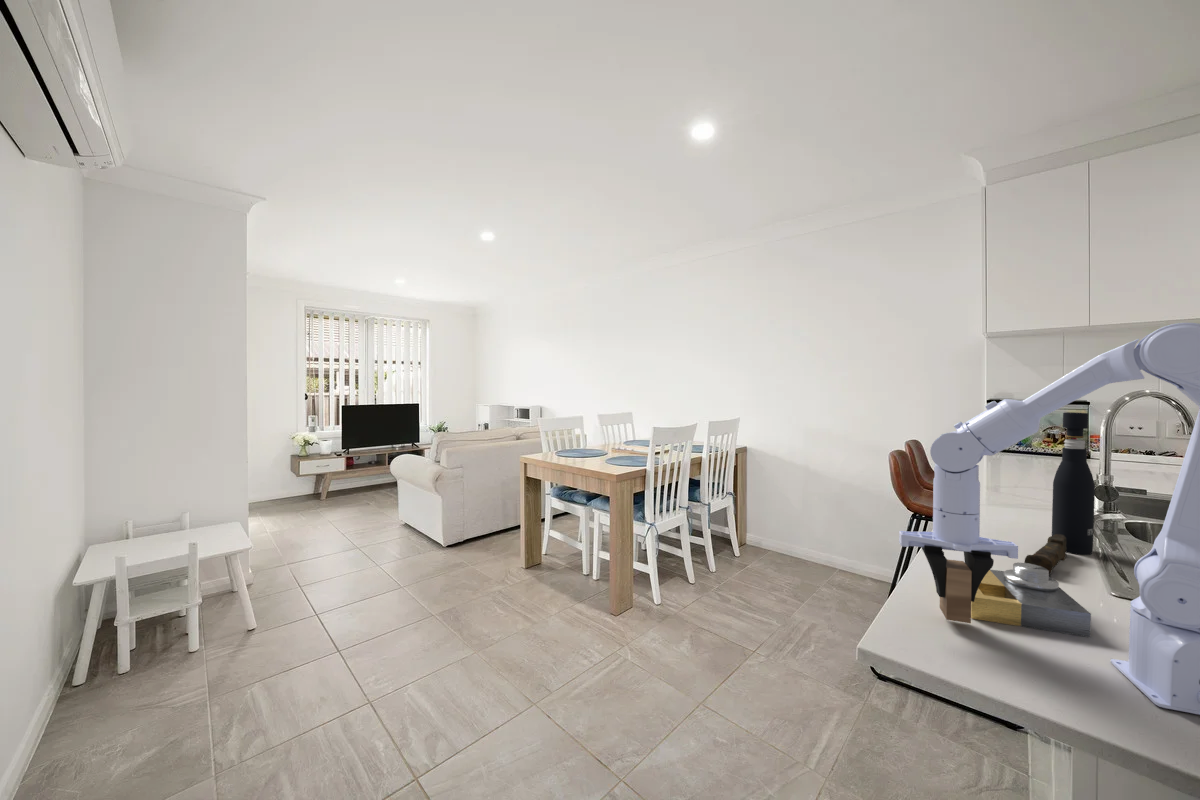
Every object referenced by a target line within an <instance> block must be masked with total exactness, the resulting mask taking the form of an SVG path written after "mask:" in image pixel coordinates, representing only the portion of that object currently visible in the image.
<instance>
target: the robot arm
mask: <svg viewBox="0 0 1200 800" xmlns="http://www.w3.org/2000/svg"><path fill="white" fill-rule="evenodd" d="M1138 341H1139V342H1138ZM1141 370H1142V371H1144V372H1145V373H1147V374H1149V375H1151V376H1153V377H1155V378H1157V379H1160V380H1161V381H1165V382H1167V383H1169V384H1171V385H1173V386H1175V387H1176V389H1177V390H1179V391H1180V392H1181V393H1182V394H1183V395H1185V397H1187V398H1188V399H1189V400H1190V401H1192V403H1194V404H1195V405H1196V406H1197V407H1198V408H1199V409H1198V412H1197V417H1196V419H1195V421H1194V425H1193V429H1192V431H1191V435H1190V438H1189V441H1188V443H1187V444H1188V445H1187V448H1186V451H1185V453H1184V454H1185V455H1184V457H1183V461H1182V463H1181V467H1180V470H1179V473H1178V477H1177V480H1176V483H1175V486H1174V489H1173V492H1172V496H1171V500H1170V502H1169V506H1168V508H1167V511H1166V516H1165V517H1164V521H1163V525H1162V528H1161V530H1160V532H1159V533H1158V535H1157V536H1156V537H1155V539H1154V542H1153V545H1152V547H1151V549H1150V551H1149V552H1148V553H1146V554H1145V555H1143V556H1141V557H1140V558H1139V559H1138V560H1137V561H1136V562H1135V564H1134V567H1133V573H1134V577H1135V580H1136V581H1137V583H1138V586H1139V588H1138V589H1139V596H1138V597H1136V598H1134V599H1133V600H1130V603H1129V604H1130V607H1129V611H1130V612H1129V636H1128V660H1121V659H1116V658H1111V659H1110V663H1111V665H1113V666H1114V667H1115V668H1116V669H1117V670H1119V672H1121V673H1122V674H1123V675H1124V676H1125V677H1126V678H1127V679H1128V680H1129V681H1130V682H1131V683H1132V684H1133V685H1134V686H1135V687H1136V688H1137V689H1138V690H1140V692H1142V693H1143V694H1144V695H1145V696H1146V697H1147V698H1148V699H1149V700H1150V701H1151V702H1152V703H1153V704H1154V705H1156V706H1157V707H1160V708H1163V709H1167V710H1168V709H1169V710H1172V711H1173V710H1174V711H1178V712H1185V713H1188V714H1189V713H1190V714H1194V715H1199V716H1200V323H1197V322H1177V323H1171V324H1169V325H1164V326H1162V327H1160V328H1158V329H1156V330H1153V332H1151V333H1149V334H1147V335H1145V336H1144V337H1143V338H1142V339H1140V338H1136V339H1135V340H1132V341H1129V342H1127V343H1125V344H1122V345H1120V346H1117V347H1116V348H1115V347H1114V348H1112V349H1110V350H1108V351H1106V352H1103V353H1101V354H1098V355H1097V356H1095V357H1092V358H1091V359H1090V360H1088V361H1086V362H1084V363H1083V364H1081V365H1080V366H1078V367H1077V368H1075V369H1073V370H1072V371H1070V372H1068V373H1067V374H1065V375H1063V376H1061V377H1060V378H1058V379H1057V380H1054V382H1052V383H1050V384H1048V385H1047V386H1045V387H1043V388H1042V389H1040V390H1038V391H1037V392H1035V393H1033V394H1032V395H1031V396H1028V397H1027V398H1025V399H1022V400H1019V399H1011V398H1004V399H1003V400H1001V401H999V402H996V401H995V400H993V401H991V402H988V403H987V404H986V405H984V408H985V410H984V411H982V412H981V413H978V414H977V415H975V416H974V417H972V418H970V419H969V420H966V421H965V422H962V421H959V422H957V423H955V424H954V425H953V427H954V429H956V430H954V431H949V432H945V433H942V434H940V435H939V437H937V438H936V439H935V440H934V441H933V443H931V446H930V458H931V460H932V461H933V463H934V468H933V471H934V476H933V477H934V478H933V480H932V481H933V483H932V486H933V489H932V491H933V493H932V495H933V496H932V497H933V498H932V499H933V500H932V531H905V530H904V531H903V530H899V531H898V533H899V534H898V544H899V545H900V546H901V547H903V548H905V547H906V548H909V547H918V548H921V550H922V552H923V553H924V556H925V558H926V560H927V563H928V564H929V567H930V569H931V570H930V571H931V573H932V575H933V576H932V577H933V579H934V584H935V589H936V593H937V595H938V597H939V598H940V597H944V598H945V591H946V590H945V569H946V562H947V557H946V556H945V552H944V551H943V550H945V551H953V552H963V558H964V559H963V561H964V562H965V564H966V565H967V566H968V567H969V568H970V570H971V571H972V578H971V601H972V602H974V600H975V596H976V593H977V590H978V587H979V585H980V583H981V581H982V580H983V578H984V576H985V575H986V574H987V572H988V571H989V570H992V568H993V566H994V561H995V560H994V559H993V557H992V555H993V556H1001V557H1007V558H1010V559H1016V560H1017V559H1018V560H1019V545H1017V544H1016V543H1015V542H1014V541H1009V540H1008V541H1007V540H1002V539H1001V540H999V539H994V538H989V537H983V536H981V535H980V532H981V531H980V530H981V529H980V528H981V526H980V525H981V523H980V522H981V521H980V520H981V519H980V518H981V515H980V514H981V510H980V509H981V482H980V480H979V475H980V473H979V469H980V468H979V467H980V466H979V465H978V463H980V462H981V461H982V460H983V458H984V457H985V456H994V455H996V454H998V453H1000V452H1003V451H1004V450H1006V449H1008V448H1009V447H1012V446H1014V445H1015V444H1017V443H1020V441H1023V440H1024V439H1027V438H1029V437H1030V436H1033V435H1035V434H1037V433H1038V432H1039V430H1040V424H1041V419H1042V418H1044V417H1046V416H1048V415H1049V414H1051V413H1053V412H1055V411H1057V410H1060V409H1061V408H1064V407H1065V406H1067V405H1069V404H1072V403H1073V402H1075V401H1076V400H1080V399H1081V398H1082V397H1085V396H1087V395H1089V394H1091V393H1093V392H1094V391H1097V390H1098V389H1101V388H1103V387H1105V386H1106V385H1109V384H1114V383H1122V382H1129V381H1130V382H1131V381H1137V380H1144V379H1145V375H1144V374H1143V373H1142V371H1141Z"/></svg>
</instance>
